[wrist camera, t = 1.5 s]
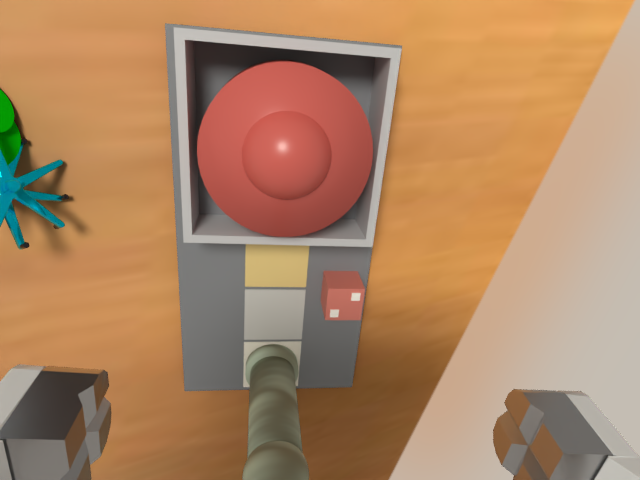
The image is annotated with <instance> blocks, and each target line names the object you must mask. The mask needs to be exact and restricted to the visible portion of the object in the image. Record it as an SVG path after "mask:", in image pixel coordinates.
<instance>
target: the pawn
mask: <svg viewBox="0 0 640 480" xmlns="http://www.w3.org/2000/svg"><path fill="white" fill-rule="evenodd" d="M298 374H299V370H298V362H297V358H296V355H295V354H294V353H293V351H292V350H290V349H289V348H287V347H285V346H283V345H278V344H268V345H264V346H261V347H259V348H257V349H255V350H254V351H253V352H252V353H251V354H250V355H249V357H248V359H247V361H246V373H245V375H246V380H247V383H248V384H249V385H250V389H249V423H248V457H247V461H246V463H245V466H244V470H243V477H242V478H243V480H309V469H308V464H307V461H306V459H305V457H304V455H303V452H302V442H301V433H300V423H299V413H298V403H297V394H296V384H295V382H296V380H297V378H298Z"/></svg>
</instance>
